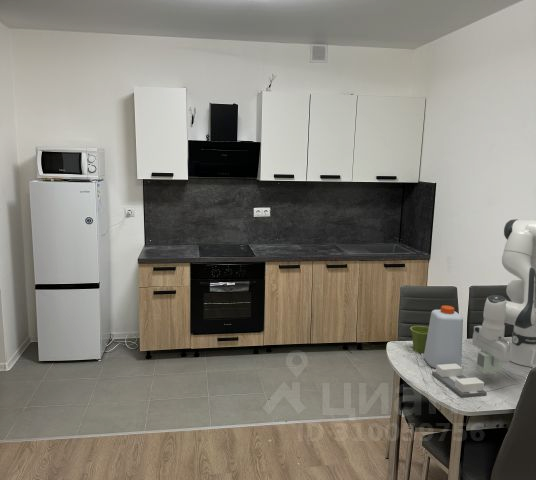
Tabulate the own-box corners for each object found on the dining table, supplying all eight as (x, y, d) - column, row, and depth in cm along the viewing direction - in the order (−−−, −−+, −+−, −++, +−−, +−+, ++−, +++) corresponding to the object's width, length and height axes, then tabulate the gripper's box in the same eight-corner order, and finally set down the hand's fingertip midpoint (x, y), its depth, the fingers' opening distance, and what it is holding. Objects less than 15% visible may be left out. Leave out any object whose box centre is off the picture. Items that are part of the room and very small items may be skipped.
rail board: (455, 373, 216) (456, 362, 216) (486, 395, 196) (487, 383, 195) (431, 374, 214) (433, 364, 213) (461, 397, 193) (462, 385, 193)
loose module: (494, 366, 211) (495, 349, 209) (501, 371, 206) (503, 353, 205) (476, 368, 208) (477, 351, 207) (482, 373, 204) (484, 355, 203)
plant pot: (430, 347, 246) (432, 326, 244) (434, 356, 235) (437, 334, 233) (406, 345, 248) (408, 324, 246) (410, 354, 236) (412, 332, 234)
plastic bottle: (431, 369, 219) (437, 311, 214) (421, 356, 234) (426, 301, 229) (463, 371, 219) (470, 313, 214) (451, 357, 234) (457, 303, 229)
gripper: (516, 341, 195) (513, 373, 198) (483, 324, 215) (480, 353, 217) (503, 342, 194) (500, 374, 196) (471, 325, 213) (468, 354, 216)
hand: (489, 363), depth 207 cm, fingers closed on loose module, 4 cm apart
